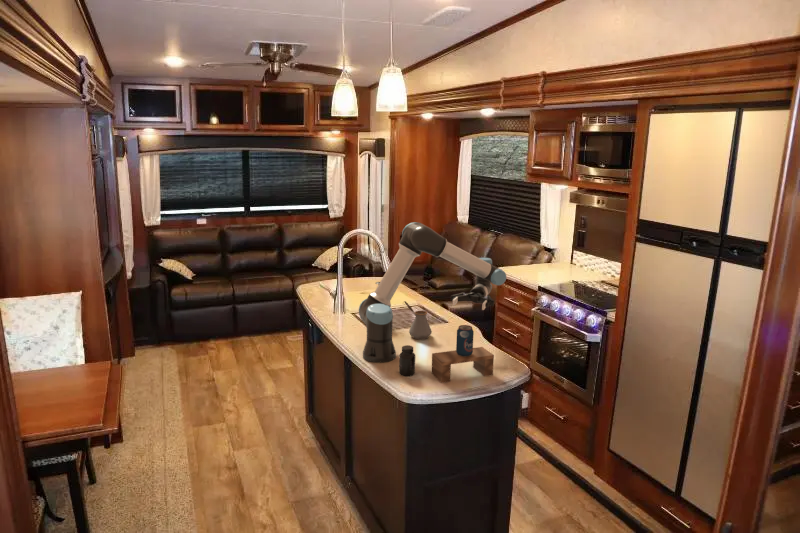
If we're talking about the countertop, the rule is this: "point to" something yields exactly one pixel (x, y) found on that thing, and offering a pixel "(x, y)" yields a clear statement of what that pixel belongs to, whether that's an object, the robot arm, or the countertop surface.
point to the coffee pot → (419, 325)
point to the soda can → (464, 340)
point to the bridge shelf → (445, 359)
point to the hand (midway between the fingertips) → (468, 305)
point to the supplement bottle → (407, 361)
